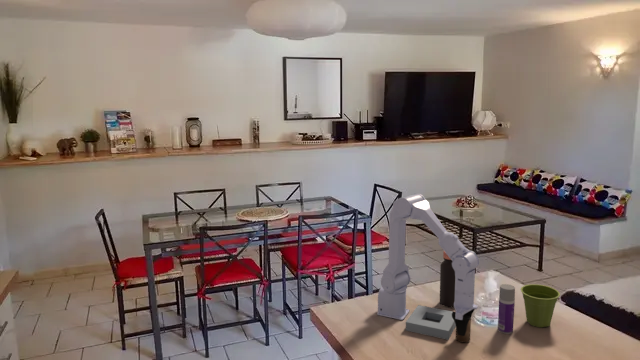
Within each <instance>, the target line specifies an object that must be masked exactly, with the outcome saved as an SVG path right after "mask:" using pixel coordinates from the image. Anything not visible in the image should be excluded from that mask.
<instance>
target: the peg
mask: <svg viewBox="0 0 640 360" xmlns="http://www.w3.org/2000/svg"><path fill="white" fill-rule="evenodd" d="M471 328H472V318H471V319H470V320H469V322H468V325H467V330H466V334H465V336H461V335H458V333H457V329H456V328H455V340H456V341H458V342H461V343H468V342H470V340H471V330H472V329H471Z"/></svg>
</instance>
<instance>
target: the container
mask: <svg viewBox="0 0 640 360" xmlns="http://www.w3.org/2000/svg"><path fill="white" fill-rule="evenodd" d="M515 299H516V287H515V285H512V284H507V283H505V284H500V286H499V297H498V314H497V315H498V318H497V331H498V332H499V333H501V334H505V335H511V334H513V332H514V319H515V318H514V317H515V305H516V304H515V303H516V302H515Z"/></svg>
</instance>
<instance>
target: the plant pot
mask: <svg viewBox="0 0 640 360" xmlns="http://www.w3.org/2000/svg"><path fill="white" fill-rule="evenodd" d="M520 292H521V293H522V298H523V302H524V303H523V304H524V309H525V318H526V322H527V323H529V325H530V326H532V327H535V328H536V327H537V328H544V327H547V328H548V327H550V325H551V322H552V319H553V315H554V310H555V306H556V304H557V303H558V298H560V297H561V292H559V291H558V289H556V288H553V286H552V287H551V286H549V285H548V286H547V285H543V284H538V283H536V284H534V283H533V284H531V283H530V284H525V285H522V286H521V287H520Z"/></svg>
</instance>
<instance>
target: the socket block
mask: <svg viewBox="0 0 640 360" xmlns="http://www.w3.org/2000/svg"><path fill="white" fill-rule="evenodd" d="M452 312H453V311H451V310H445V309H441V308H435V307H431V306H425V305H421V304H420V305H419V304H418V305H417V306H416V307H415V309H414V310H413V312H412V313H411V314H410V315H409V317H407V320H406V321H405V332H410V333H417V334H419V335H423V336H428V337H429V336H430V337H434V338H439V339H444V340H448V341H449V340H450V338H451V336H452V334H453V332H454V331H455V330H456V324H455V322H454V320H453V318H452Z"/></svg>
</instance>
